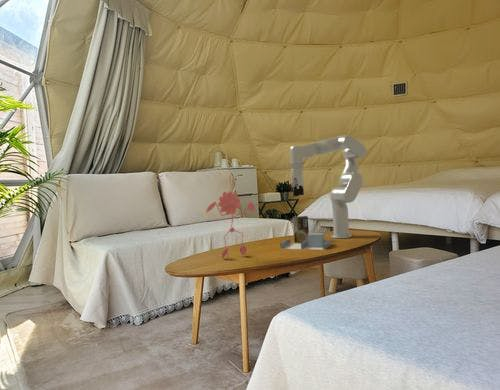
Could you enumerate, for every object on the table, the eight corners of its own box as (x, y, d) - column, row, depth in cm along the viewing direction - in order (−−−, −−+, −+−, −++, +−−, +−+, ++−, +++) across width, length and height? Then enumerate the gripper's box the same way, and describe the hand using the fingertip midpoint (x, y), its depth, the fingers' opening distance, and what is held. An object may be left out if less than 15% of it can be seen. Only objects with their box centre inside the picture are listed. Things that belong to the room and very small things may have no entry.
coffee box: (309, 242, 240) (307, 215, 239) (309, 244, 234) (308, 216, 233) (294, 242, 241) (292, 216, 240) (294, 244, 235) (292, 217, 234)
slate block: (310, 245, 222) (310, 233, 222) (324, 245, 219) (324, 233, 218) (308, 247, 218) (307, 234, 217) (322, 247, 214) (322, 234, 214)
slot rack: (289, 245, 233) (288, 238, 233) (331, 246, 223) (331, 238, 223) (280, 250, 219) (279, 243, 218) (324, 251, 208) (324, 243, 208)
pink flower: (260, 255, 208) (255, 189, 207) (213, 262, 199) (208, 193, 198) (249, 251, 223) (244, 189, 222) (205, 258, 213) (200, 193, 212)
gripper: (295, 167, 244) (297, 194, 245) (286, 167, 228) (288, 196, 229) (307, 166, 241) (308, 194, 242) (299, 166, 225) (300, 196, 226)
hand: (298, 195), depth 235 cm, fingers open, 9 cm apart
